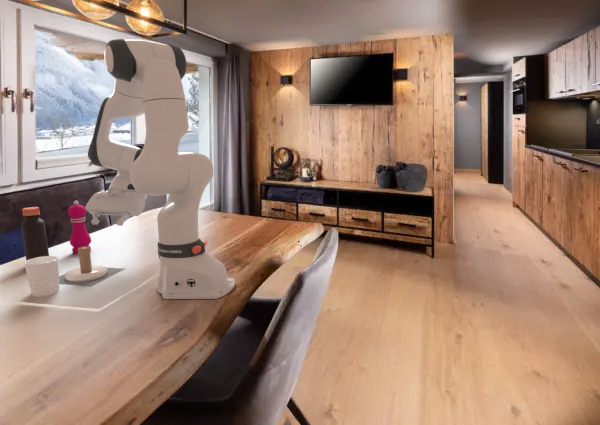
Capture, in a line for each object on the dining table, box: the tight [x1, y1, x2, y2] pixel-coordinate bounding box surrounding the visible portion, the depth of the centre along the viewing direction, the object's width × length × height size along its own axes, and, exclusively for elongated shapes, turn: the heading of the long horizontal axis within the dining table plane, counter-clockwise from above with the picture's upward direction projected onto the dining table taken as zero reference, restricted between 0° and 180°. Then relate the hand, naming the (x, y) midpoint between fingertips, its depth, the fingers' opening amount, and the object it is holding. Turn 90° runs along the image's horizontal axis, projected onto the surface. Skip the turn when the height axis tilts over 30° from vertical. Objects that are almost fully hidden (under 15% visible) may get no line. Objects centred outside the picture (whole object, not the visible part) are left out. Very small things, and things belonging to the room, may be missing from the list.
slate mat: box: [59, 267, 125, 287], centre depth 129 cm, size 16×16×1 cm
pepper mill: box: [67, 200, 92, 255], centre depth 155 cm, size 7×7×20 cm
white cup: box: [24, 255, 60, 298], centre depth 115 cm, size 8×8×10 cm
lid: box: [64, 246, 108, 282], centre depth 128 cm, size 12×12×9 cm
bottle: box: [20, 206, 50, 261], centre depth 140 cm, size 7×7×20 cm
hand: (106, 224), depth 137 cm, fingers open, 8 cm apart
